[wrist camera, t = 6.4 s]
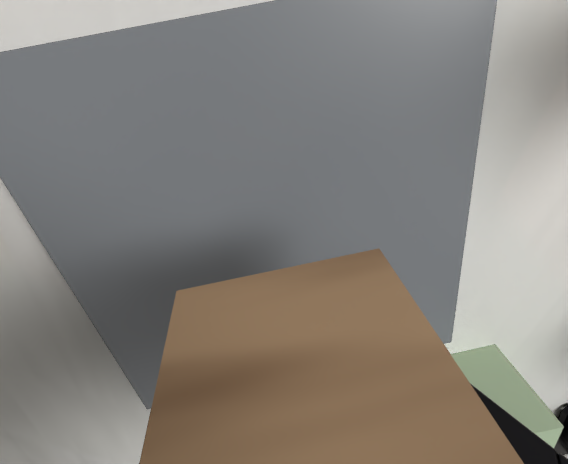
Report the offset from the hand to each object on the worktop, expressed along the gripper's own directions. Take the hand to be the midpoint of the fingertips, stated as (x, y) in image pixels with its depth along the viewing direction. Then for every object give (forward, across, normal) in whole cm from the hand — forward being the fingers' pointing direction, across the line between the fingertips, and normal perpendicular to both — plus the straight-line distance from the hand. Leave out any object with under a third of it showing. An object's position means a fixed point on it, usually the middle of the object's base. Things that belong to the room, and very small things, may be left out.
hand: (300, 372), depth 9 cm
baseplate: (+7, 0, 0) cm, 7 cm away
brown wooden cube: (+1, 0, 0) cm, 1 cm away
